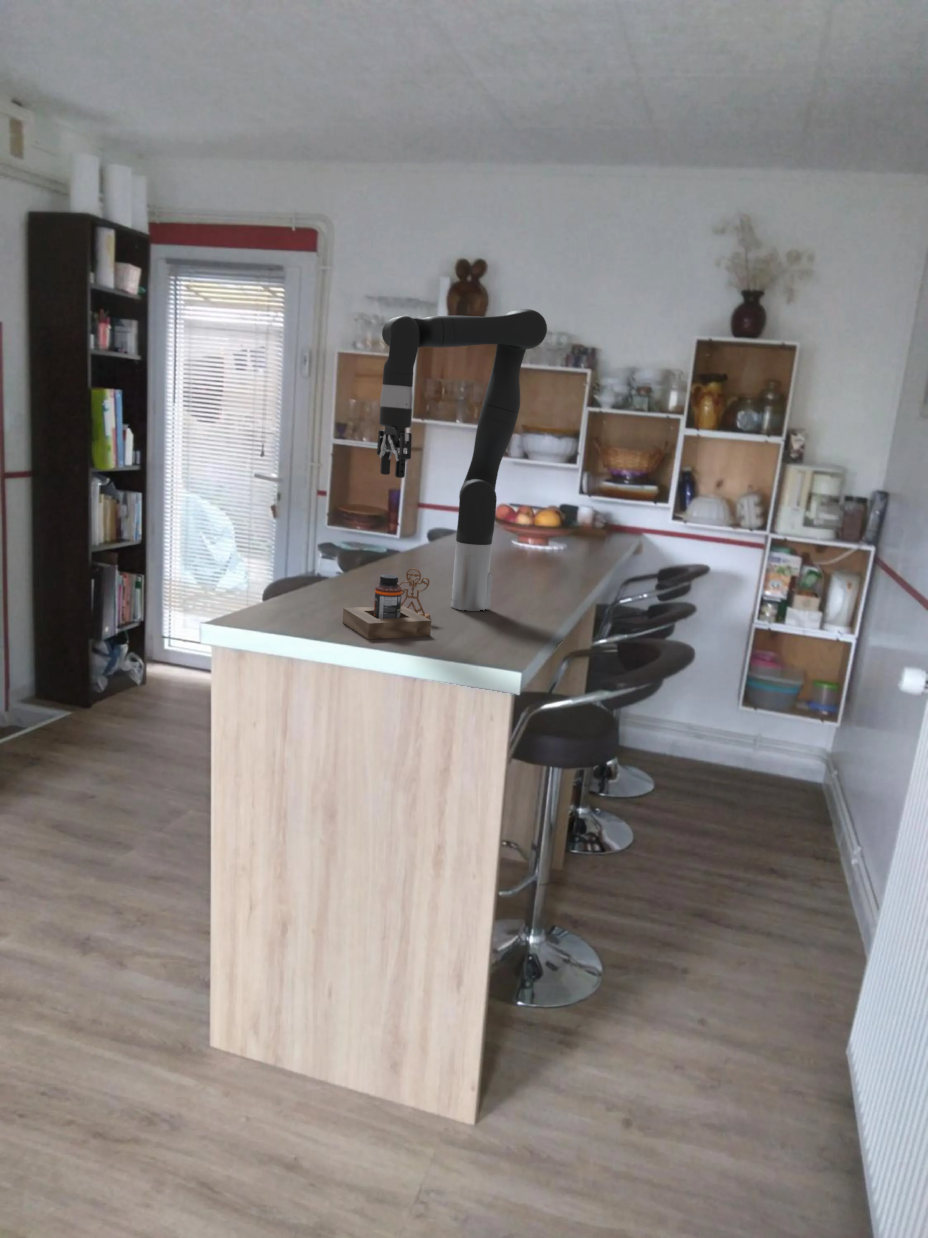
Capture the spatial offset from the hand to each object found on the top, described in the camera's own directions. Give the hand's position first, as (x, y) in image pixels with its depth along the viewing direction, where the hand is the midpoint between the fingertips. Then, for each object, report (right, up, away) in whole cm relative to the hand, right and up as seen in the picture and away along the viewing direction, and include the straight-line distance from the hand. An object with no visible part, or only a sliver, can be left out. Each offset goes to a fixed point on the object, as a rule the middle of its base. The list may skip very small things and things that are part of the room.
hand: (392, 475), depth 205 cm
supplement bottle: (0, -36, -11) cm, 37 cm away
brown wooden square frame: (-1, -36, -10) cm, 38 cm away
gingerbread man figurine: (+4, -34, +3) cm, 34 cm away
